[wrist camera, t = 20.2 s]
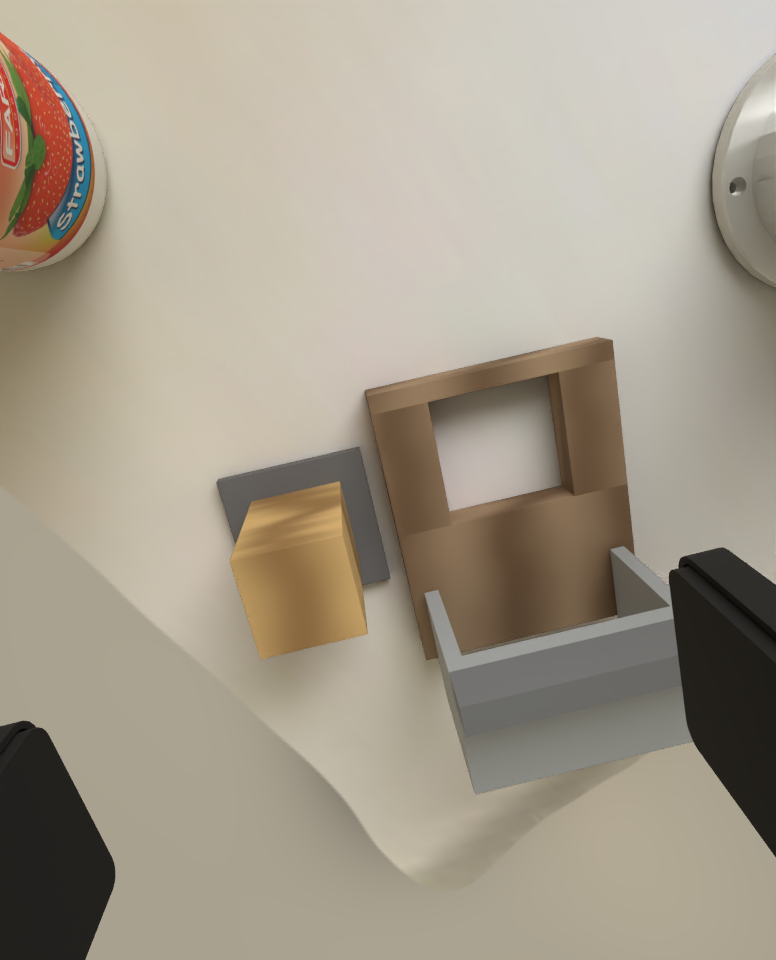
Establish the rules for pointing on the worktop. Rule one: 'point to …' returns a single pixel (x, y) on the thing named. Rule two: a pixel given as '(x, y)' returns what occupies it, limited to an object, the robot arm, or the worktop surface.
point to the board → (511, 503)
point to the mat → (308, 475)
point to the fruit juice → (44, 165)
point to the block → (299, 571)
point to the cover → (568, 688)
